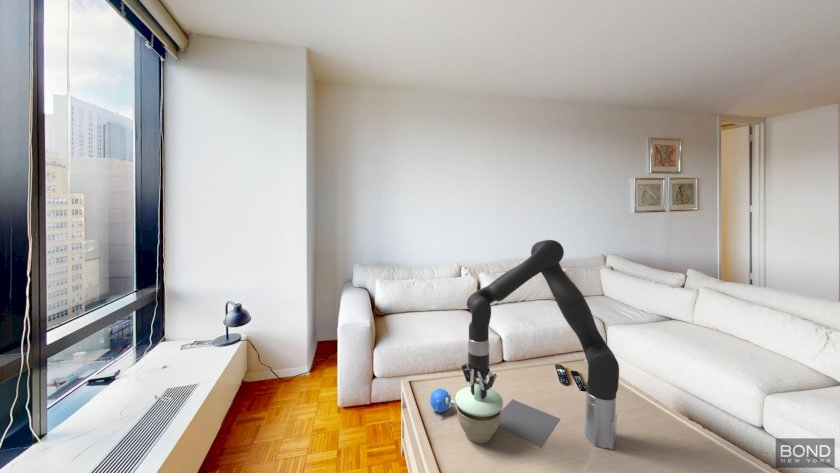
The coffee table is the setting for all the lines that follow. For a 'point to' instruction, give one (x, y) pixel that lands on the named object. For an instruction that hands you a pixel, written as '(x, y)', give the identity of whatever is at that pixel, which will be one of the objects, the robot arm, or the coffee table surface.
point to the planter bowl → (478, 425)
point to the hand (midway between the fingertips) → (478, 395)
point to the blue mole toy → (441, 400)
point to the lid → (478, 401)
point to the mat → (527, 422)
